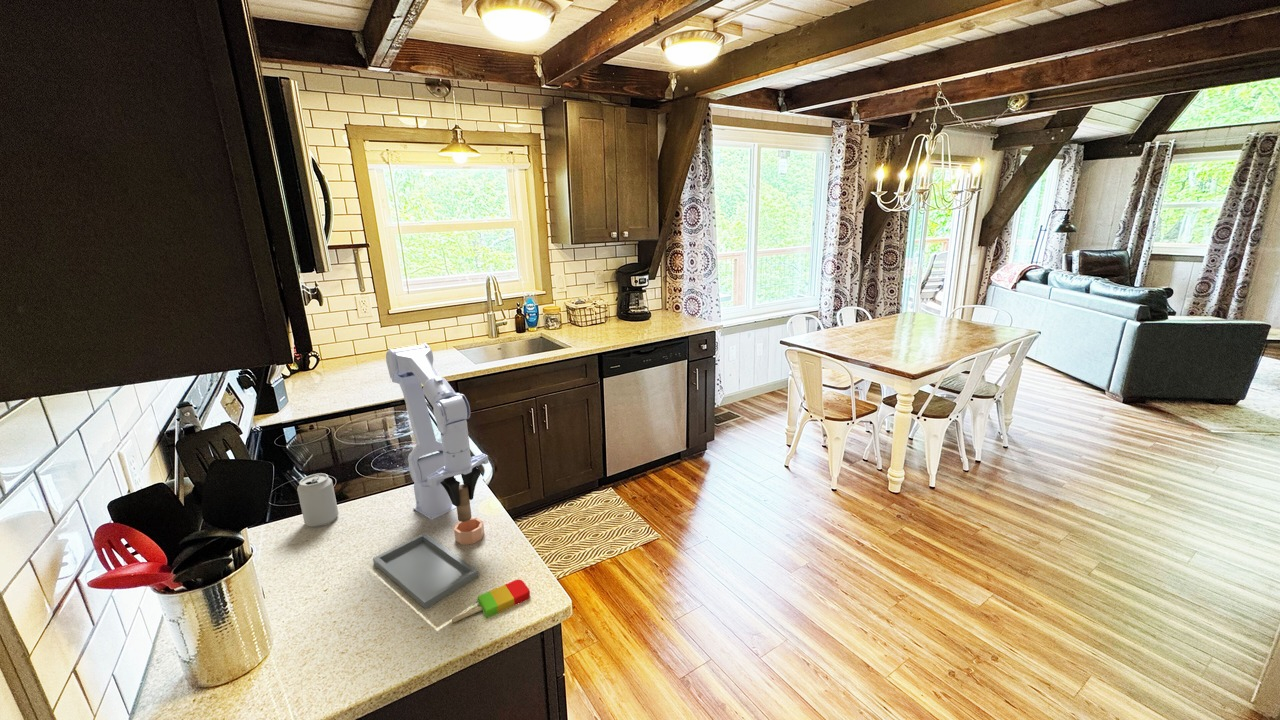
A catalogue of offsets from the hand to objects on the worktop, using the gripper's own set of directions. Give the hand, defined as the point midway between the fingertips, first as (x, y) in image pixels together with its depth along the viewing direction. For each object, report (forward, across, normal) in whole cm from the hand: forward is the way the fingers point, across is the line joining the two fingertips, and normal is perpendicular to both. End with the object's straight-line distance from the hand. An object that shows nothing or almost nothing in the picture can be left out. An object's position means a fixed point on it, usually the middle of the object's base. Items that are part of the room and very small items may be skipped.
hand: (462, 501), depth 117 cm
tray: (+10, -12, -3) cm, 16 cm away
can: (+11, -18, +37) cm, 43 cm away
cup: (+10, +1, 0) cm, 10 cm away
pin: (+4, 0, 0) cm, 4 cm away
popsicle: (+11, -10, -22) cm, 27 cm away
